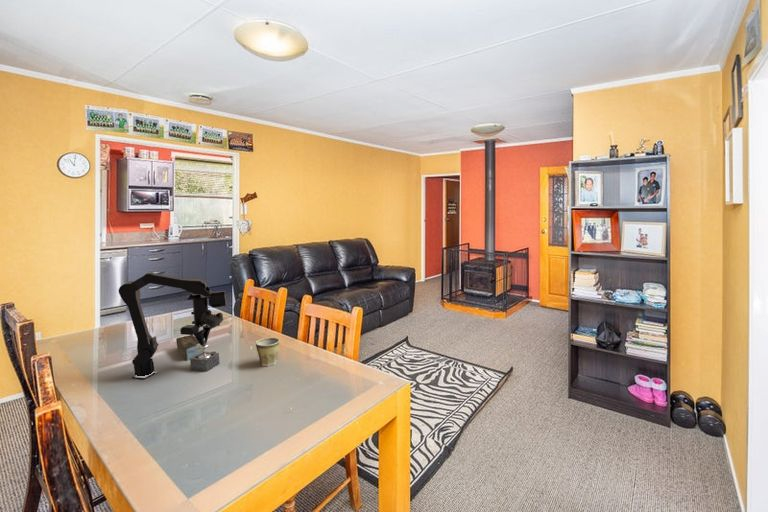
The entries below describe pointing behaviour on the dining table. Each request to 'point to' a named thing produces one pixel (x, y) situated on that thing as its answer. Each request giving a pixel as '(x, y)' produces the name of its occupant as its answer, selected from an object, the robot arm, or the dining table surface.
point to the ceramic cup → (268, 351)
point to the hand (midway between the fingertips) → (203, 344)
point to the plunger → (204, 355)
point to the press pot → (204, 362)
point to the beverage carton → (188, 346)
